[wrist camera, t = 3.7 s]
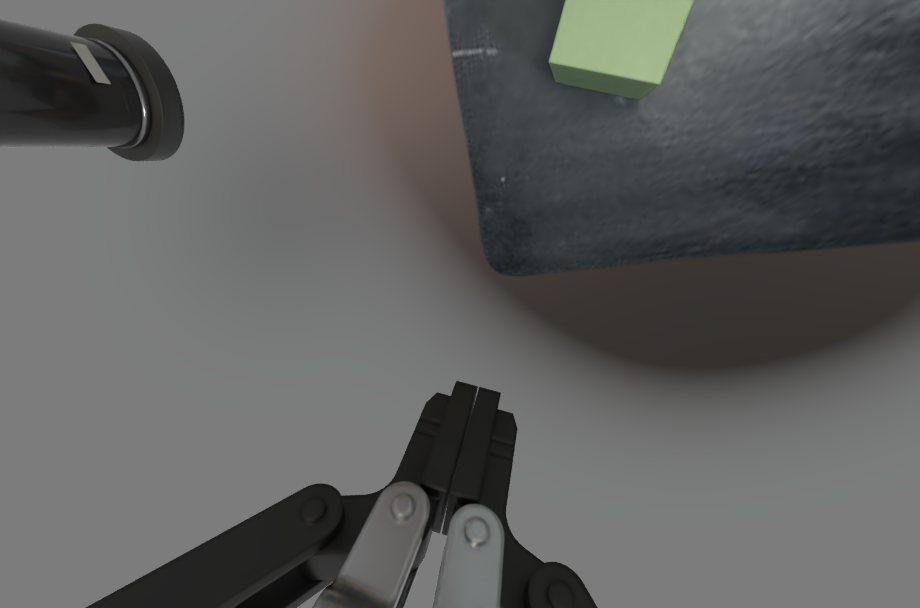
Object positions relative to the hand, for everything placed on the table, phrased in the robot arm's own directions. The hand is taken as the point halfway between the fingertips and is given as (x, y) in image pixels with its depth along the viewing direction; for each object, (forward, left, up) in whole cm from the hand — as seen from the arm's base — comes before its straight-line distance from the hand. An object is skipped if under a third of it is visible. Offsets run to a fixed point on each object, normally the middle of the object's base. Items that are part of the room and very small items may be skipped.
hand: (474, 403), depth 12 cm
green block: (+1, +15, -21) cm, 26 cm away
